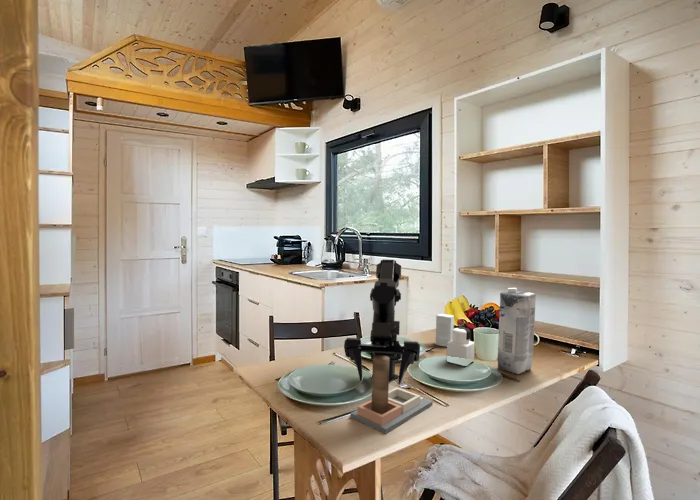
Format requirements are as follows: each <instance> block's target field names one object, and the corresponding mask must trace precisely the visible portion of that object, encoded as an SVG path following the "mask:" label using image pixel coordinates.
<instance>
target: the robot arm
mask: <svg viewBox="0 0 700 500" xmlns="http://www.w3.org/2000/svg"><path fill="white" fill-rule="evenodd" d="M375 270H376V271H375V277H376V279H377V280H376V281H374V287H372V288H371V291H370V294H369V298H370V299H369V301H371V303H372V311H373V314H372V315H373V317H372V323H371V331H370V337H369V338H370V339H369V340H370V344H369V343H368V344H367V343H362V340H361V338H357V337H346V339H345V340H344V345H343V349H344V353H345V358H346V357H347V358H349V359H350V361H354V363H355V366H356V369H357V373H358V378H359V382H362V381H363V362H362V361H363V359H362V353H370V359H371V360H373V357H374V356H377V355H383V356H387V357H389V358H390V360H389V383H390V382H391V381H395V380H396V379H398V385H401V383H402V381H403V378H404V375H405V373H406V371H407V369H408V368H409V366H410V365H413V364H414V363H417V362H419V361H420V354H421V348H420V347H421V345H420V343H419V342H418V341H409V340H403V346H402V345H401V344H400V340H398V336H400V325H401V324H400V323H401V322H400V320H395V318H396V317H395V314H396V313H395V312H396V310H395V306H397V303H399V301H401V299H402V293H401V292H400V289H399V288H398V287H399V284H400V280H401V279H402V265H401V264H399V263H398V262H397V260H395V259H381V260H380V262H379V263H377V264H376V268H375ZM400 360H401V361H400ZM399 361H400V365H399V371H398V372H399V373H398V374H395V370H396V362H399Z"/></svg>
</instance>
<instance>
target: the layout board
mask: <svg viewBox="0 0 700 500" xmlns="http://www.w3.org/2000/svg"><path fill="white" fill-rule="evenodd" d="M433 403H434V402H433V400H429V399H426V398H424V397H423V396H422V397H421V395H419V394H416V393H414V392H412V391H411V392H410V391H408V390H406V389H403V388H400V387H397V386H396V387H394V388H392V389H391V390H388V412H386V413H384V414H382V415H381V414H379V413H376V412H374V411H372V410H371V404H372V399H370V400H368V401H366V402H364V403H362V404H360V405H358V406H357V409H355V410H354V411H352V412H350V418H352V419H353V420H355V421H358V422H359V423H362V424H364V425H367V426H369V427H371V428H373V429H375V430H378V431H380V432H382V433H384V434H388V433H389V432H391V431H392V430H394V429H396V428H398V427H400V426H401V425H402V424H404V423H406V422H408V421H410V420H411V419H412V418H414V417H416V416H417V415H419V414H421V413H422V412H424V411H426V410H427V409H429V408H430V407H432V406H433Z"/></svg>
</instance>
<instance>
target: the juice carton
mask: <svg viewBox="0 0 700 500" xmlns="http://www.w3.org/2000/svg"><path fill="white" fill-rule="evenodd" d="M536 295H537V294H536V293H534V292H529V291H522V290H521V291H520V290H518V288H517V287H508V288H507V291H505V292H504V291H503V292H500V293H499V297H500V298H499V315H498V316H499V317H498V318H499V320H498V321H499V322H498V341H497V368H498V369H499V368H500V370H502V369H503V371H505V370H507V371H506V372H509V371H510V372H509V373H511V372H513V373H512V374H514V373H516V374H515V375H520V374H522V373H524V372H527V371H529V369H530V370H531V369H532V367H533V366H532V364H533V361H534V360H533V359H534V357H533V356H534V341H535V340H534V339H535V338H534V337H535V323H536V322H535V317H536V297H537V296H536ZM526 370H527V371H526Z"/></svg>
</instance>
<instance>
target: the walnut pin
mask: <svg viewBox="0 0 700 500" xmlns="http://www.w3.org/2000/svg"><path fill="white" fill-rule="evenodd" d="M389 360H390V358H389V357H387V356H383V355H377V356H374V357H373V359H372V373H371V375H372V378H371V379H372V380H371V400H372V404H371V410H372V411H374V412H376V413H379V414H381V415H382V414H384V413H386V412H388V391H389V386H390V385H389V384H390V382H389Z"/></svg>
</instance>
